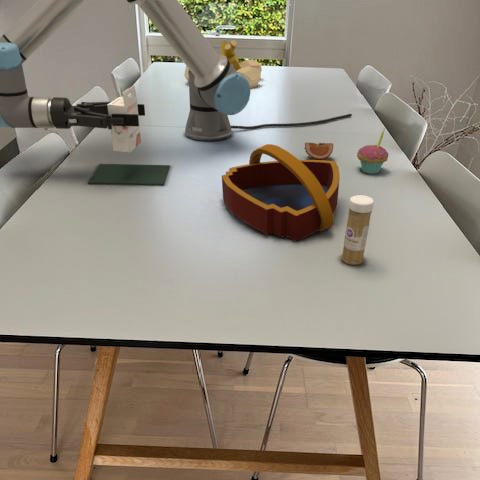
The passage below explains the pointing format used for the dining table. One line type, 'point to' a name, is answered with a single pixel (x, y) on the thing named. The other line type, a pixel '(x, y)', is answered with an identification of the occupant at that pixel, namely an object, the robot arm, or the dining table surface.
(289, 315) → the dining table surface
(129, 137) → the ink cartridge box
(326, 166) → the decorative basket
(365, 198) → the sprinkles bottle
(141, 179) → the mat
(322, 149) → the fruit slice
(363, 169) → the cupcake
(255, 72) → the campfire
